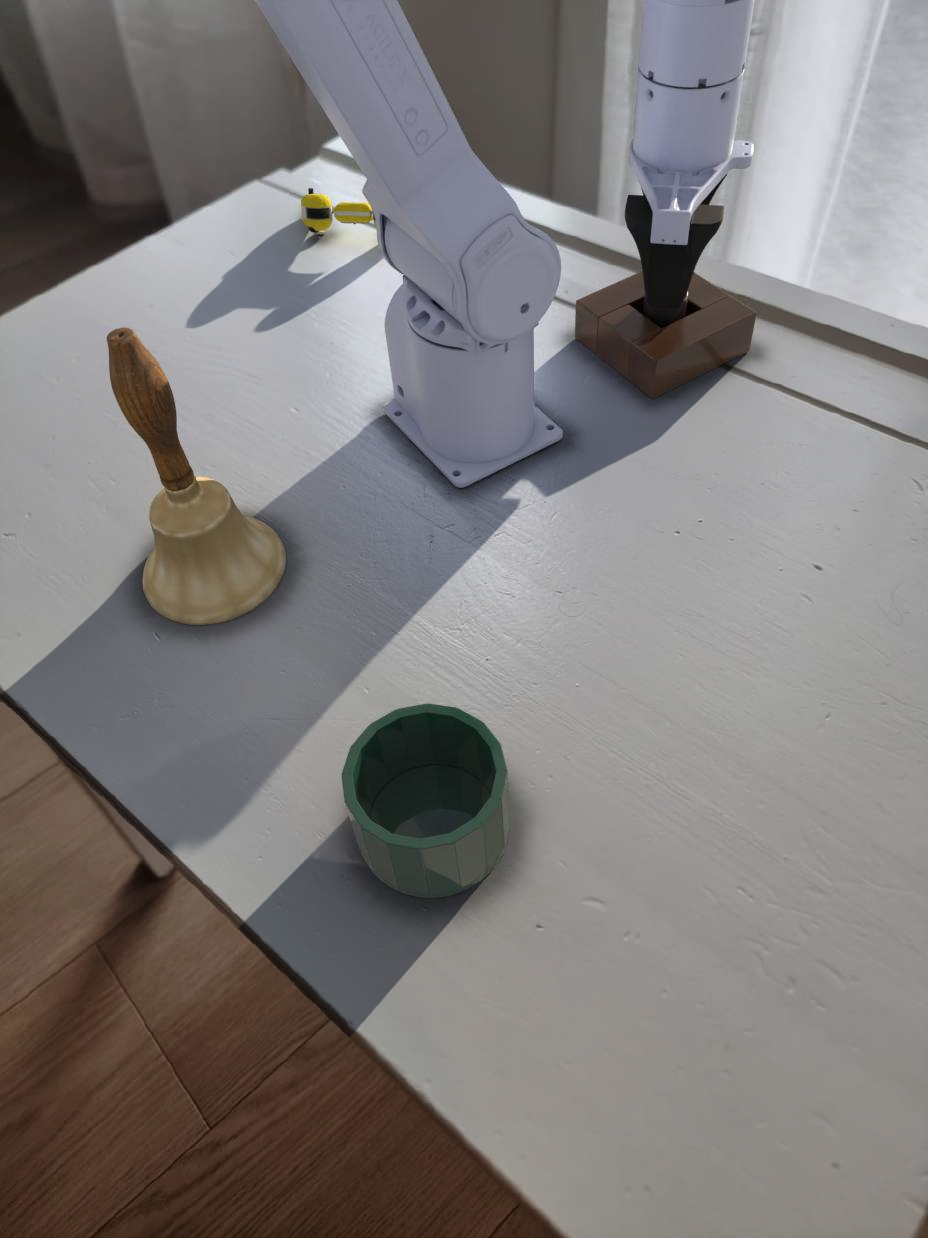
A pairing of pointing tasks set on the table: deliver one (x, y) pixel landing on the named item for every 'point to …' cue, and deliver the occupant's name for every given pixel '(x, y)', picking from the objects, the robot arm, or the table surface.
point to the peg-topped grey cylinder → (664, 313)
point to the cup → (428, 799)
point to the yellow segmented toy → (320, 212)
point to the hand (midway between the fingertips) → (666, 287)
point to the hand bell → (190, 509)
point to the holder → (663, 333)
